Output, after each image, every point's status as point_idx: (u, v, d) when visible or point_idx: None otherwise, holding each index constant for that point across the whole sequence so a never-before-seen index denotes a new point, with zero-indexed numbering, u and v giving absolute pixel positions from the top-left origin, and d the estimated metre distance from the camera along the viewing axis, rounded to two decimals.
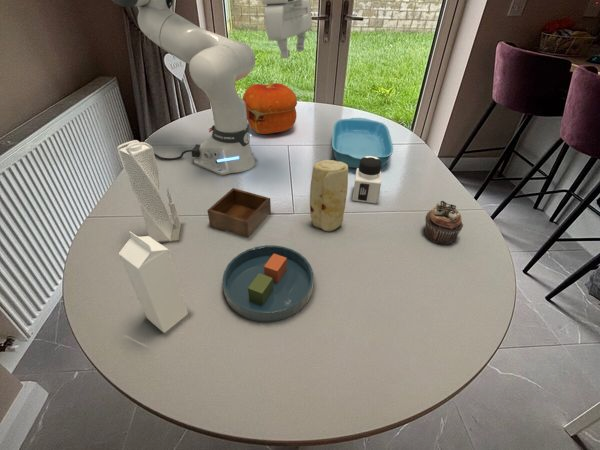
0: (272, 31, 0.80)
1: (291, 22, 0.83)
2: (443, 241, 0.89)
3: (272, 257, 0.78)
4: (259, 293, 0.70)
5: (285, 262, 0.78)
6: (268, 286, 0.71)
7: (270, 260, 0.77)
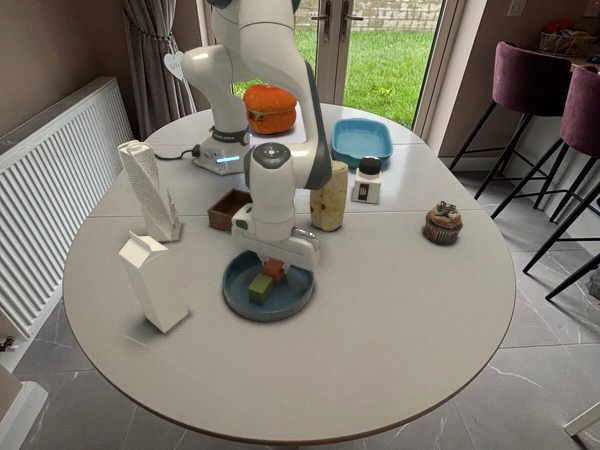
0: None
1: (257, 243, 0.73)
2: (443, 241, 0.89)
3: None
4: (259, 293, 0.70)
5: None
6: (268, 286, 0.71)
7: (270, 260, 0.77)
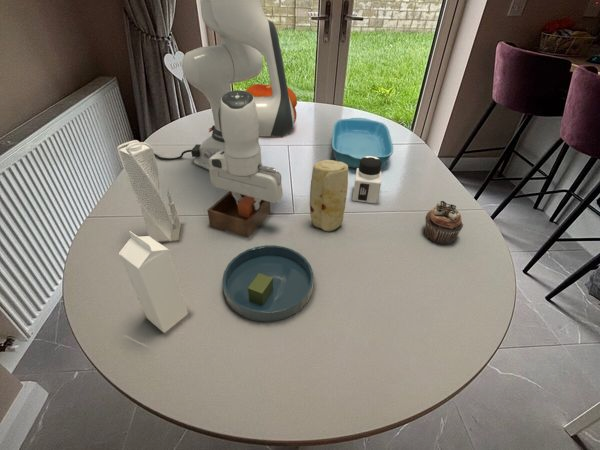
0: None
1: (230, 182, 0.87)
2: (443, 241, 0.89)
3: (245, 197, 0.91)
4: (259, 293, 0.70)
5: None
6: (268, 286, 0.71)
7: (243, 199, 0.91)
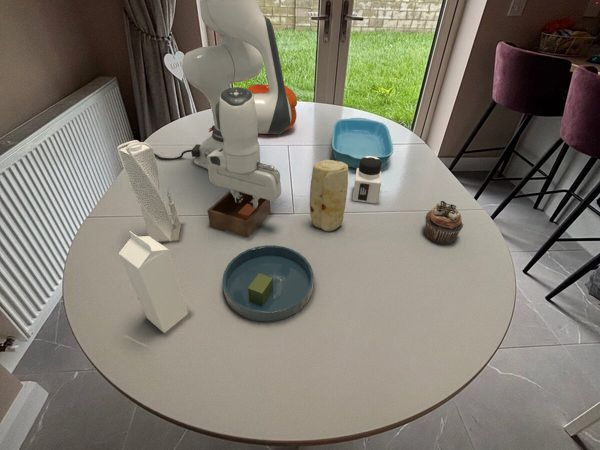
0: None
1: (229, 179, 0.86)
2: (443, 241, 0.89)
3: (245, 206, 0.93)
4: (259, 293, 0.70)
5: None
6: (268, 286, 0.71)
7: (243, 208, 0.93)
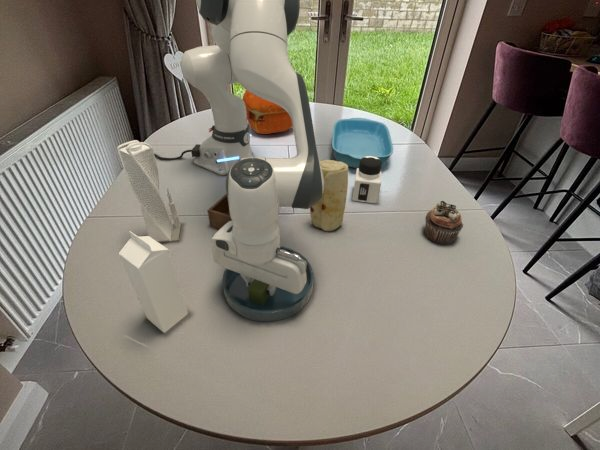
0: None
1: (240, 264, 0.68)
2: (443, 241, 0.89)
3: None
4: (259, 293, 0.70)
5: None
6: None
7: None
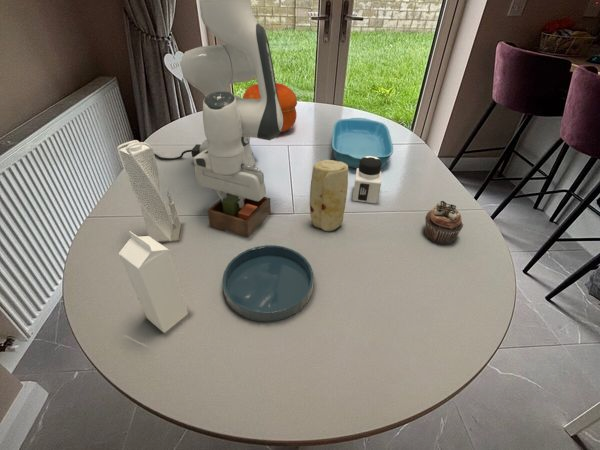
0: None
1: (215, 181, 0.89)
2: (443, 241, 0.89)
3: (245, 206, 0.93)
4: (230, 204, 0.91)
5: None
6: None
7: (243, 208, 0.93)
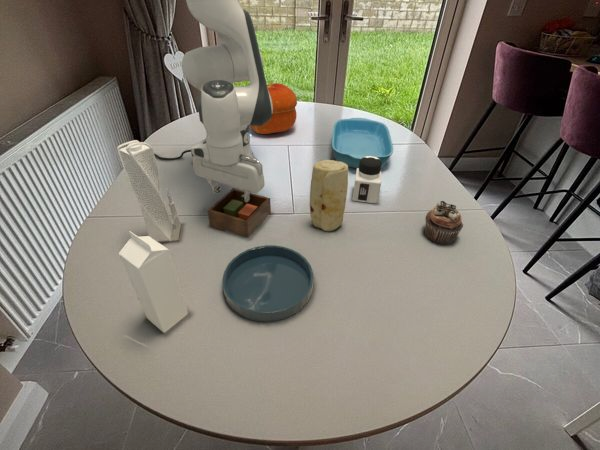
0: None
1: (213, 171, 0.87)
2: (443, 241, 0.89)
3: (245, 206, 0.93)
4: (232, 211, 0.92)
5: None
6: (239, 207, 0.94)
7: (243, 208, 0.93)
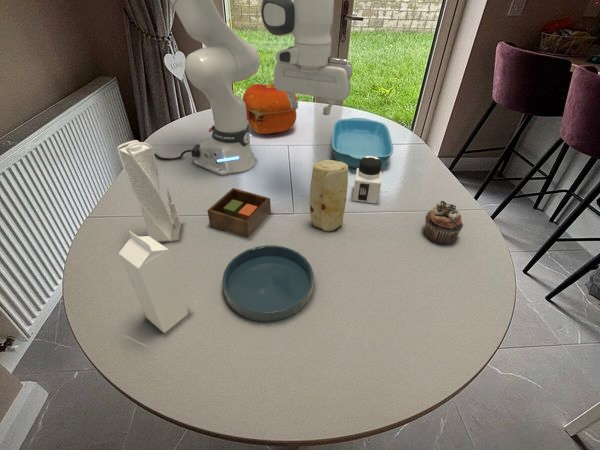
0: None
1: (296, 81, 0.85)
2: (443, 241, 0.89)
3: (245, 206, 0.93)
4: (232, 211, 0.92)
5: None
6: (239, 207, 0.94)
7: (243, 208, 0.93)
